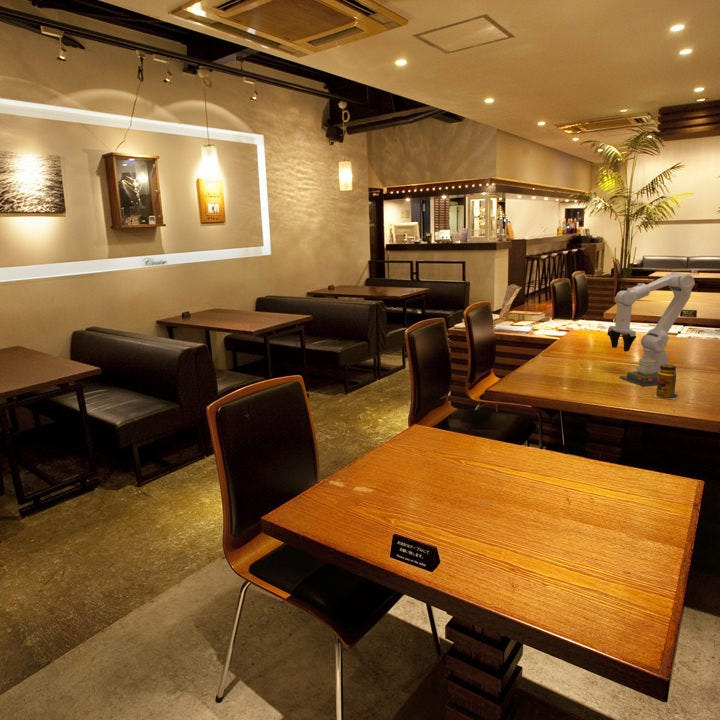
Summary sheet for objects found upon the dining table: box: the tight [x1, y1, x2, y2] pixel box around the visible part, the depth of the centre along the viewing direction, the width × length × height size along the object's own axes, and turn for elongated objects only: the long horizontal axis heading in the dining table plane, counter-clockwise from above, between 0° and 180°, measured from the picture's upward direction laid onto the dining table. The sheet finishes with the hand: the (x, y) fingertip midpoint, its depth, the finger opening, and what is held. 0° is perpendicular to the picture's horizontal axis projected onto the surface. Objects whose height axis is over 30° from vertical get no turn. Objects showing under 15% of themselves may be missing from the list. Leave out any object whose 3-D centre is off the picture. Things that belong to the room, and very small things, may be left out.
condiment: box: [652, 364, 680, 400], centre depth 207 cm, size 7×8×12 cm
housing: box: [619, 370, 659, 388], centre depth 228 cm, size 14×14×3 cm
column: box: [637, 357, 655, 376], centre depth 227 cm, size 4×4×6 cm
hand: (620, 349), depth 240 cm, fingers open, 7 cm apart
